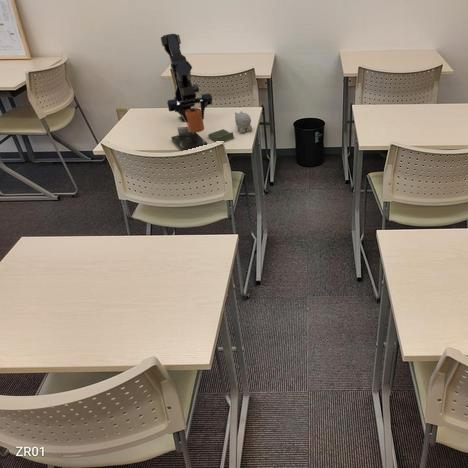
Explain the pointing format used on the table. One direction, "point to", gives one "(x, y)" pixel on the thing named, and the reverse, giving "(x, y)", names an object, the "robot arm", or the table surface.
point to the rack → (221, 135)
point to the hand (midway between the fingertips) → (195, 120)
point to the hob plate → (192, 143)
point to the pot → (194, 120)
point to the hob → (179, 139)
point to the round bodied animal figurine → (243, 122)
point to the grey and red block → (183, 131)
